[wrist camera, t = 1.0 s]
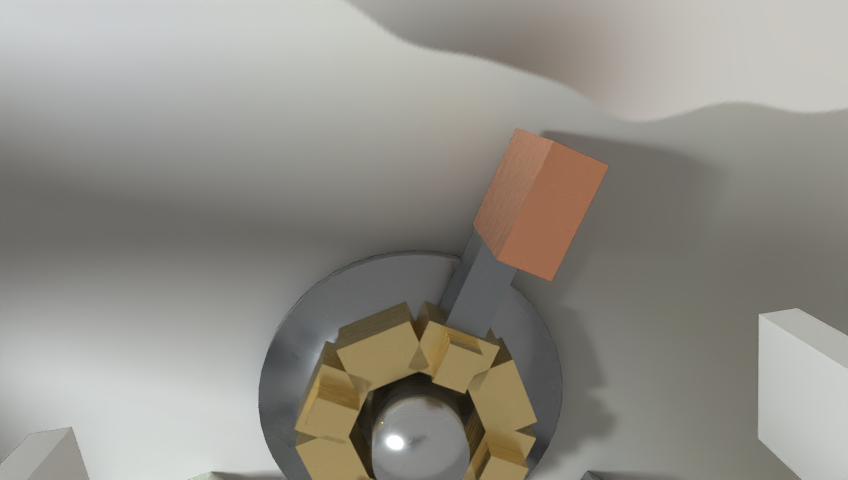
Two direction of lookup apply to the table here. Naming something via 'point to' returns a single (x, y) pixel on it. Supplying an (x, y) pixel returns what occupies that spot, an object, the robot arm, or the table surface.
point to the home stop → (590, 477)
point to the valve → (207, 477)
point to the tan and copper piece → (457, 324)
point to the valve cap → (409, 396)
